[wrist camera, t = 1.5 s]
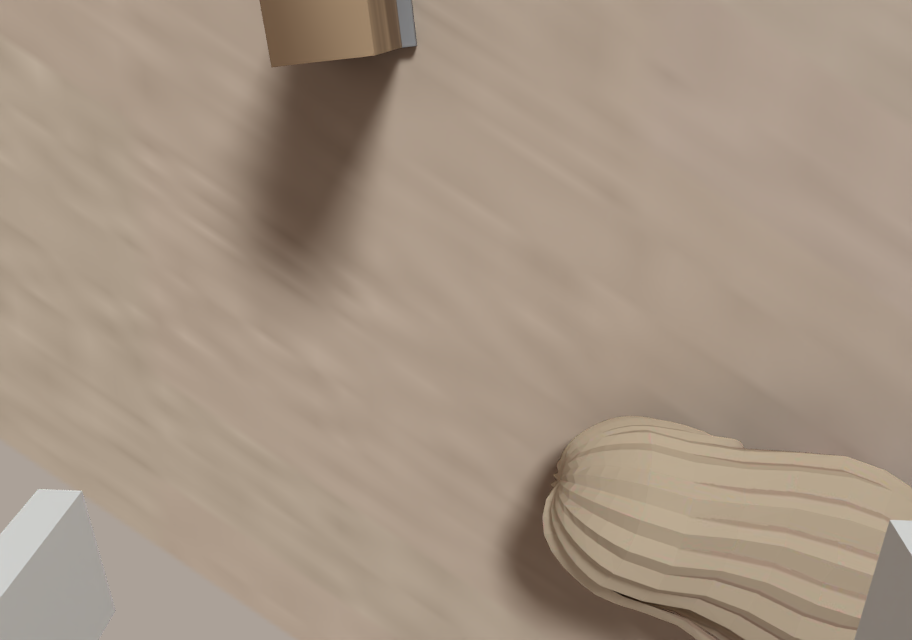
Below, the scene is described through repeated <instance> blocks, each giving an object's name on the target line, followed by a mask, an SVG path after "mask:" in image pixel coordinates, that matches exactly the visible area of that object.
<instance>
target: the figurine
mask: <svg viewBox="0 0 912 640" xmlns="http://www.w3.org/2000/svg"><path fill="white" fill-rule="evenodd" d="M557 468H558V473H556V474H554V475H553V476H554V477H555V479H556V480H557V481H556V482H553V483H551V486H552V487H553V489H552V490H551V492H550V493H549V496H548V497H547V499H546V503H545V507H544V512H543V516H542V519H543V530H544V536H545V538H546V540H547V542H548V545H549V547H550V549H551V552H552V553H553V554H554V555H555V557H556V558H557V559H558V561H559V562H560V563H561V565H562V566H563V567H564V568H565V569H566V570H567V571H568V572H569V573H570V574H571V575H572V576H573V577H574V578H575V579H576V580H577V581H578V582H579V583H580V584H582V585H583V586H584V587H586V588H587V589H588V590H590V591H591V592H592V593H593V594H595V595H597V596H599V597H601V598H603V599H606V600H608V601H610V602H612V603H614V604H617V605H620V606H624V607H627V608H630V609H633V610H637V611H640V612H643V613H645V614H648V615H651V616H653V617H656V618H659V619H661V620H664V621H667V622H669V623H672V624H675V625H677V626H679V627H680V628H682V629H683V630H684V631H686V632H687V633H688V634H690V635H691V636H693V637H694V638H695V639H697V640H717V639H715V638H714V637H712V636H711V635H710V634H708V633H707V632H705V631H704V630H706V631H708V632H709V633H711V634H712V635H714V636H715V637H717V638H718V639H719V640H854V639H855V635H856V632H857V629H858V625H859V622H860V618H861V615H862V612H863V608H864V605H865V602H866V598H867V595H868V592H869V588H870V585H871V581H872V578H873V575H874V571H875V568H876V564H877V561H878V558H879V554H880V551H881V548H882V544H883V541H884V538H885V534H886V531H887V527H888V524H889V521H890V520H908V521H912V487H910V486H909V485H907V484H906V483H904V482H903V481H901V480H900V479H898V478H897V477H895V476H893V475H892V474H890V473H889V472H887V471H886V470H883V469H881V468H878V467H875V466H872V465H869V464H867V463H864V462H861V461H858V460H855V459H853V458H850V457H847V456H837V455H826V454H814V453H802V452H790V451H775V450H759V449H744V447H743V445H742V443H741V442H740V441H738V440H736V439H731V438H725V437H717V436H712V435H711V434H708V433H706V432H704V431H701V430H698V429H695V428H692V427H689V426H686V425H683V424H679V423H675V422H670V421H664V420H659V419H654V418H648V417H641V416H624V417H617V418H613V419H609V420H605V421H603V422H601V423H598V424H596V425H594V426H592V427H591V428H589V429H587V430H585V431H583V432H582V433H580V434H579V435H577V436H576V437H575V438H574V439H573V440H572V441H571V442H570V443H569V444H568V446H567V447H566V448H565V449H564V452H563V454H562V456H561V459H560V460H559V461H558V463H557ZM662 608H663V609H662ZM664 609H667V610H671V611H674V612H676V613H678V614H679V615H681V616H683V617H684V618H683V617H680V616H677V615H675V614H674V613H672V612H669V611H667V610H664ZM692 622H693V623H692ZM695 624H696V625H695ZM697 625H698V626H699V627H701V628H703V629H704V630H702V629H701V628H699V627H698V626H697Z"/></svg>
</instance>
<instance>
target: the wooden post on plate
mask: <svg viewBox="0 0 912 640" xmlns="http://www.w3.org/2000/svg"><path fill="white" fill-rule="evenodd" d="M260 5H261V11H262V16H263V22H264V27H265V33H266V39H267V44H268V50H269V55H270V61H271V67H278V66H287V65H296V64H305V63H314V62H322V61H331V60H340V59H349V58H358V57H366V56H375V55H378V54H382V53H385V52H388V51H392V50H395V49H399V48H402V47H410V46H417V41H416V32H415V24H414V15H413V7H412V0H260Z"/></svg>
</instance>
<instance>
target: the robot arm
mask: <svg viewBox="0 0 912 640" xmlns="http://www.w3.org/2000/svg"><path fill="white" fill-rule="evenodd" d="M115 611H116V610H115V607H114V603H113V599H112V596H111V592H110V589H109V585H108V581H107V578H106V574H105V571H104V567H103V564H102V560H101V557H100V553H99V550H98V546H97V542H96V539H95V535H94V532H93V528H92V524H91V521H90V517H89V514H88V511H87V507H86V503H85V499H84V496H83V492H82V491H75V490H47V489H38V490H37V491H36V493H35V494H34V495H33V496H32V497H31V498H30V500H29V501H28V502H27V503H26V505H24V507H23V508H22V509H21V510H20V511H19V513H18V514H17V515H16V516H15V517H14V519H13V520H12V521H11V522H10V523H9V524H8V526H7V527H6V528H5V529H4V530H3V532H2V533H1V534H0V640H99V638H100V636H101V635H102V633H103V631H104V629H105V628H106V626H107V624H108V623H109V621H110V619H111V617H112V616H113V614H114V612H115ZM854 640H912V521H908V520H890V521H889V524H888V527H887V531H886V534H885V538H884V541H883V544H882V548H881V551H880V554H879V558H878V561H877V564H876V568H875V571H874V575H873V578H872V581H871V585H870V588H869V592H868V595H867V598H866V602H865V605H864V608H863V612H862V615H861V618H860V622H859V625H858V629H857V632H856V635H855V639H854Z"/></svg>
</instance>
